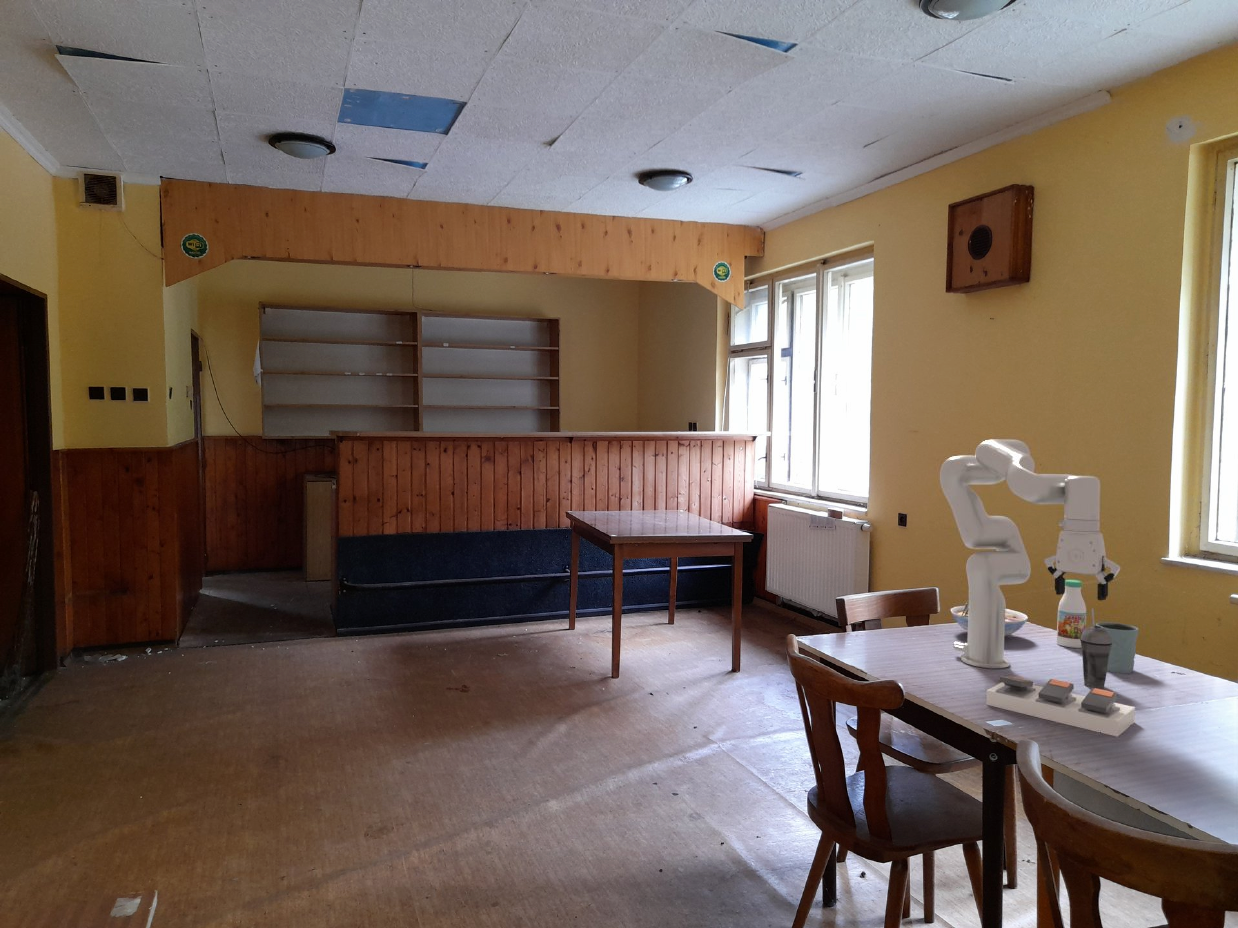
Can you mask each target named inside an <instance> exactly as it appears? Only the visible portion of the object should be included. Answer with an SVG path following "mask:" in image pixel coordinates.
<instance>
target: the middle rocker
mask: <svg viewBox="0 0 1238 928" xmlns="http://www.w3.org/2000/svg"><path fill="white" fill-rule="evenodd" d="M1074 686H1075V685H1074V683H1071V682H1068V681H1063V680H1058V679H1053V678H1050V679H1049V680H1048V681H1047V682H1046V684H1044V686H1042V687H1043V688H1042V689H1041V691H1040V692H1039V693H1038V696H1039V698H1042V699H1046V700H1051V701H1055V702H1059V703H1062V702H1063V701H1064V700H1065V699H1068V696H1069V694H1070V693H1072V692H1073V690H1074V689H1075V687H1074Z"/></svg>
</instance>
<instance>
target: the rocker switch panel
mask: <svg viewBox="0 0 1238 928" xmlns="http://www.w3.org/2000/svg"><path fill="white" fill-rule="evenodd" d="M1043 687H1044V686H1040V685H1035V684H1033V687H1027V690H1024V689H1020V688H1015V687H1011V686H1006V685H1004V683H1002V682H999V683H998V684H995V685H994V686H992V687H990V688H988V689H986V697H985V698H986V702H985V703H986V704H985V705H987V706H990V707H994V708H999V709H1003V710H1007V711H1010V712H1016V713H1018V714H1021V715H1022V714H1023V715H1028V716H1032V717H1036V718H1039V719H1044V720H1049V721H1052V722H1056V723H1059V724H1064V725H1068V726H1073V727H1077V728H1081V729H1085V730H1089V731H1093V732H1097V733H1100V732H1101V734H1104V735H1110V736H1112V737H1117V738H1118V737H1119V736H1121V734H1123V733H1124V732H1125V731H1126V730H1127V729H1128V728H1130V727H1131V726H1132V725H1134V723H1135V716H1136V707H1135V706H1131V705H1126V704H1123V703H1118V702H1114V703H1113V705H1112V709H1109V710H1108V712H1107V713H1103V712H1099V711H1094V710H1090V709H1085V708H1081V702H1082V701H1083V700H1084V698H1085V697H1086V696H1087V695H1086V696H1085V695H1081V694H1078V693H1077V694H1076V693H1072V692H1071V693H1070V694H1069V696H1068V699H1065V700H1064V701H1063V702H1062V703H1059V702H1055V701H1051V700H1046V699H1042V698H1039V696H1038V693H1039V692H1040V691H1041V689H1042V688H1043ZM1130 725H1131V726H1130Z"/></svg>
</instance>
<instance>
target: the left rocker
mask: <svg viewBox="0 0 1238 928" xmlns="http://www.w3.org/2000/svg"><path fill="white" fill-rule="evenodd" d="M998 682H999V683H1004V685H1006V686H1011V687H1015V688H1020V689H1024V690H1027V687H1033V685H1034V681H1033V680H1030V679H1026V678H1021V677H1017V676H999V677H998Z"/></svg>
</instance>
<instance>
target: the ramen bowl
mask: <svg viewBox="0 0 1238 928" xmlns="http://www.w3.org/2000/svg"><path fill="white" fill-rule="evenodd" d="M950 612H951V614H952V617H953V618H954V620H955V621H956V622H957V623H956V624H957V625H959V627H961V628H962V629H964V630H966V631H967V632H968V613H969V600H966V601H965V604H964V605H960V606H954V607H951V608H950ZM1028 619H1029V617H1028V615H1027V614H1026V613H1023V612H1020V611H1016V610H1012V609H1009V608H1005V633H1004V637H1007V636H1010V635H1013V634H1015V633H1016V632H1018V631H1019V630H1020V629H1021V628H1023V626H1024V625H1025V624H1026V623H1027V621H1028Z"/></svg>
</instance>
